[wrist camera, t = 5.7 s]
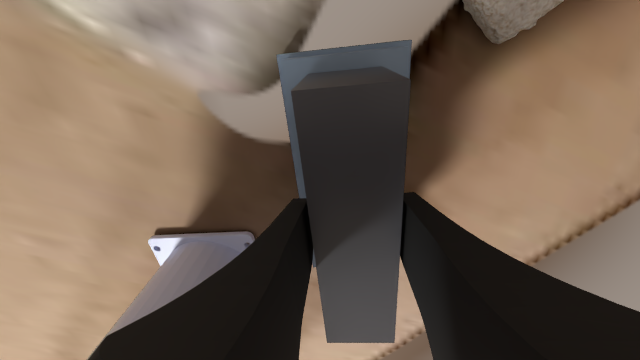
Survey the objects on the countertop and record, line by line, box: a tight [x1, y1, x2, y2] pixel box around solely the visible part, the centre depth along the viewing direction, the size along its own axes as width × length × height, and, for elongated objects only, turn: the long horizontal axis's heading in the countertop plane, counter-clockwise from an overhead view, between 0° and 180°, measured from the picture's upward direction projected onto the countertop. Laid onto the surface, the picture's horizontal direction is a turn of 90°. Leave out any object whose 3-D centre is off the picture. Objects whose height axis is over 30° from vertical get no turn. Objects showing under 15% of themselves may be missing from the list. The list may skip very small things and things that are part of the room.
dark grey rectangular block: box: [291, 66, 411, 343], centre depth 11 cm, size 11×3×4 cm, turn 6°
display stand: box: [276, 40, 412, 267], centre depth 13 cm, size 12×6×5 cm, turn 6°
